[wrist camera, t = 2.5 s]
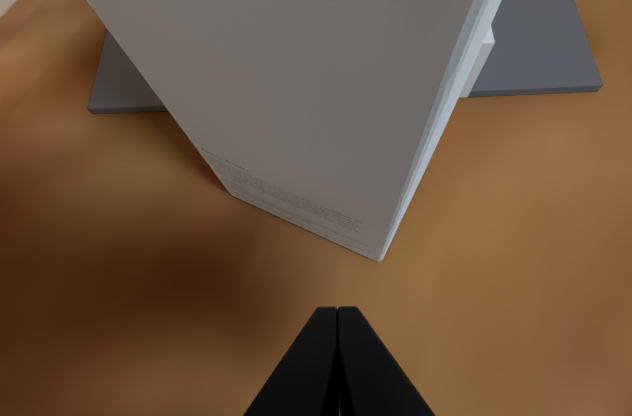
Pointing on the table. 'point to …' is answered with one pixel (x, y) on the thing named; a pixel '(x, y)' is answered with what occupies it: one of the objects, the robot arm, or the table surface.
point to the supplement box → (309, 97)
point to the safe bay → (483, 80)
